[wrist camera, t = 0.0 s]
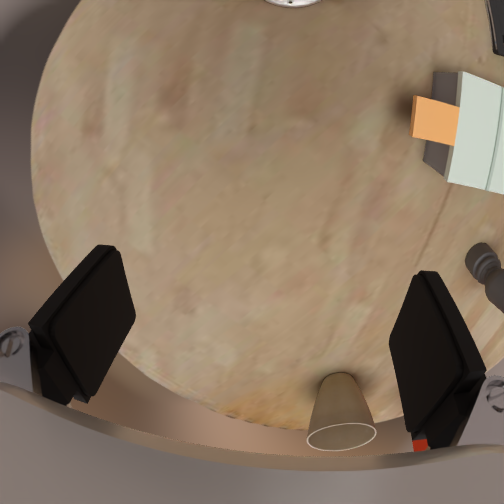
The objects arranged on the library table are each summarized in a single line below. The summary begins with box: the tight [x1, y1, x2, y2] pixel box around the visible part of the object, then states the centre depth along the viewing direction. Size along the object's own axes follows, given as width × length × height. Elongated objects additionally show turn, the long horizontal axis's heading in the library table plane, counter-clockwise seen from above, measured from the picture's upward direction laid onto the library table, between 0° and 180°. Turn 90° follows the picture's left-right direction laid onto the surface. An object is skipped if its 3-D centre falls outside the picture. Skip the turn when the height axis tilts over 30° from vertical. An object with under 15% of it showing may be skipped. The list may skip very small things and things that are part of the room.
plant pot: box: [307, 373, 376, 451], centre depth 61 cm, size 15×15×16 cm
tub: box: [423, 72, 458, 176], centre depth 32 cm, size 14×20×8 cm
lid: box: [409, 71, 504, 194], centre depth 28 cm, size 14×26×2 cm, turn 89°
